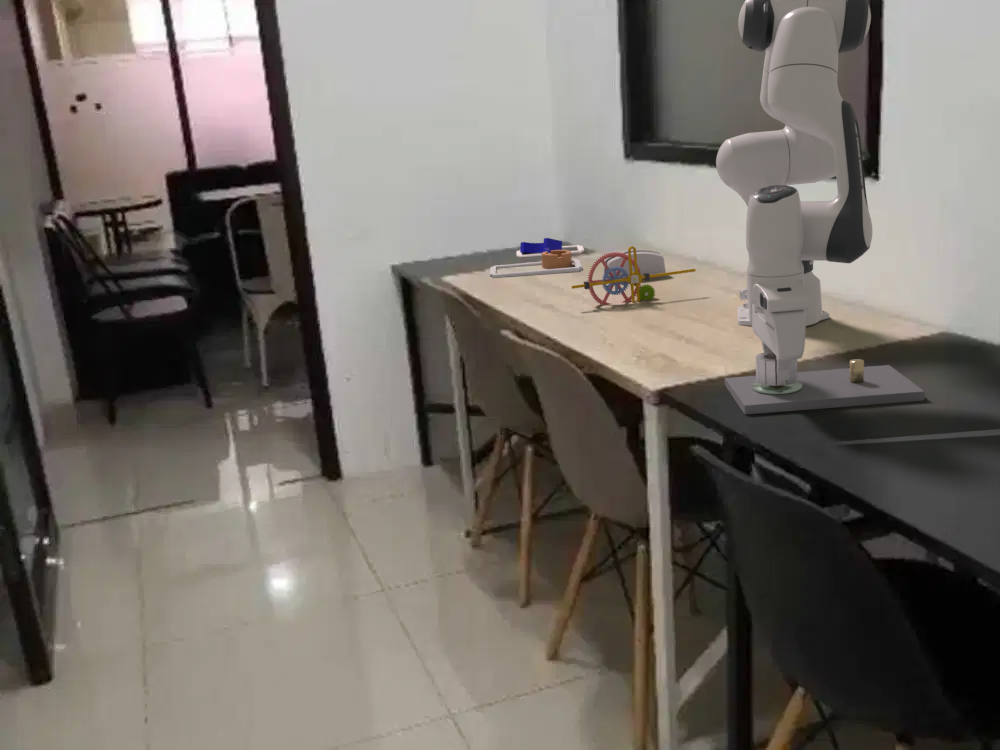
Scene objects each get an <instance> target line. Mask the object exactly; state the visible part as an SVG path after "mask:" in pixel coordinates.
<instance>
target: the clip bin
mask: <svg viewBox="0 0 1000 750" xmlns="http://www.w3.org/2000/svg"><path fill="white" fill-rule="evenodd" d="M571 248H573V249H574V248H576V249H577V250H570V251H571V255H574V254H577V255H578V254H583V253H585V249H584V246H583V245H580V244H575V245H564V246H563V245H562V249H571ZM548 254H551V253H548ZM516 257H517V258H519V259H520V258H534V257H535V258H537V257H542V254H541V253H529V254H523V253H521V252H520V249H519V250H516Z"/></svg>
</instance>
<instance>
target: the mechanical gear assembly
mask: <svg viewBox="0 0 1000 750" xmlns="http://www.w3.org/2000/svg"><path fill="white" fill-rule="evenodd" d="M631 250H633V253H634V260H633V258H632V257H631ZM636 250H637V249H636V247H635V246H629V247H628V248H627V251H628V255H626V254H624V253H622V254H621V252H619V251H615V252H614V251H613V252H612V251H610V252H608V253H605V254H603V255H601V256H599V258H597V259H596V260H595V261H594V262H593V263H592V265H591V266H590V269H589V270H588V271H589V272H588V275H587V276H588V277H587V279H586V280H587V281H583V284H577V285H571V289H572V290H573V289H580V288H583V289H585V290H588V291H589V293H590V295H591V297H592V299H593V300H594V301H595V302H596V303H597V304H599V305H601V306H604V305H612V303H610V302H607V301H608V299H609V297H610V295H612V296H613V295H614V296H619V295H621V296H622V297H623V299H624V300H623V301H621V302H620V303H630V302H632V303H633V304H635V299H636V301H637V303H641V301H644V300H653V299H655V296H656V292H655V291H656V289H655V288H654V287H653V285H651V284H647V283H644V284H642V283H643V281H645V282H647V281H650V280H651V279H652V278H659V276H661V277H666V276H673V275H679V274H680V275H681V274H686V273H694V272H696V268H690V269H683V270H682V269H681V270H675V271H669V272H668V271H667V272H666V273H660V274H653V275H649V273H643V274H644V276H642V275H640V274H641V273H640V271H641V270H639V269H640V268H638V267H639V266H637V265H638V264H637V256H636ZM610 257H622V258H623V261H622V263H621V265H620V267H618V266H616V267H615V266H614V268H613V267H612V268H609V267H608V266H607V264H606V262H605V260H606V259H607V258H610ZM626 260H628V261H629V271H630V275H629V274H627V273H628V272H627V271H626V270H624V268H623V266H624V264H625V262H626ZM600 264H602V265H603V268H604V267H605V269H606V270H607V271H606V273H604V272H603V273H604V274H605V275H603V274H602V277H601V278H602V279H596V280H595V279H594V280H593V276H594V273H595V271H596V269H597V267H598V266H599V265H600ZM632 265H633V266H634V268H635V273H634V272H632ZM622 268H623V269H622ZM617 270H618V271H617ZM612 271H614V275H613V273H612ZM620 272H623V274H621V275H620V276H619V274H620ZM608 274H609V275H610V276H608ZM628 275H629V276H628ZM603 276H604V277H603ZM618 276H619V277H618ZM624 276H625V277H626V278H622V277H624ZM606 278H607V279H606ZM601 285H602V288H603V290H605V292H606V294H605V296H604V297H603V300H602V299H601V298H600V297H599V296H598V295H597V293H596V292H595V289H594V286H601ZM621 285H622V286H623V287H622V286H621ZM629 285H630V292H631V293H630V296H629V297H628V296H627V294H626V293H625V291H627V290H626V289H628V287H629ZM613 289H614V290H613Z"/></svg>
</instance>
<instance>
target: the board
mask: <svg viewBox="0 0 1000 750" xmlns="http://www.w3.org/2000/svg"><path fill="white" fill-rule="evenodd" d="M797 373H798V380H797V381H798V382H800V383H801V384H802V389H801V390H800V391H798V392H796V393H792V394H785V395H767V394H761V393H757V392H755V391H753V390H752V384H753V383H755V382H757V381H756V375H749V376H747V375H746V376H735V377H733V376H731V377H725V378H724V386H725V387H726V389H727V390H728V392H729V393H730V395H731V396H732V398H733V399H734V401H735V403H736V404H737V405H738V407H739V408H740V410H741V411H742V413H743V414H744V415H756V414H768V413H771V414H772V413H780V412H781V413H782V412H783V413H784V412H794V411H796V412H797V411H806V410H807V411H808V410H818V409H819V410H822V409H832V408H846V407H859V406H871V405H884V404H886V405H887V404H896V403H909V402H921V401H922V402H923V401H925V390H924V389H922V388H921V387H919V386H918V385H916V383H914V382H913V381H911V380H910V379H909V378H908V377H906V376H904V374H902V373H901V372H899V371H898V370H897V369H895V368H894V367H892V366H891V365H890V364H885V365H872V366H864V382H863V383H851V382H850V367H849V368H833V369H832V368H831V369H823V370H821V369H820V370H808V371H797Z"/></svg>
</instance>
